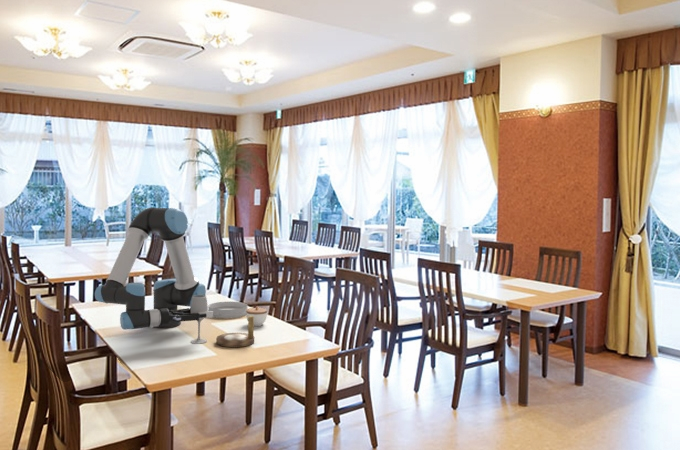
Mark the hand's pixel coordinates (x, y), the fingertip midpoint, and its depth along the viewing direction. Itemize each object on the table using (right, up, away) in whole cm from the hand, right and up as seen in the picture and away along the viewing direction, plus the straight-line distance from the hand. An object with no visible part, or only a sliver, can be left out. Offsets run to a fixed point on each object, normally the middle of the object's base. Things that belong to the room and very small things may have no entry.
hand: (209, 312), depth 244 cm
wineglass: (-4, -13, -2) cm, 14 cm away
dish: (-3, -10, +55) cm, 56 cm away
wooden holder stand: (+12, -13, -2) cm, 18 cm away
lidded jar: (+17, -12, +32) cm, 38 cm away
